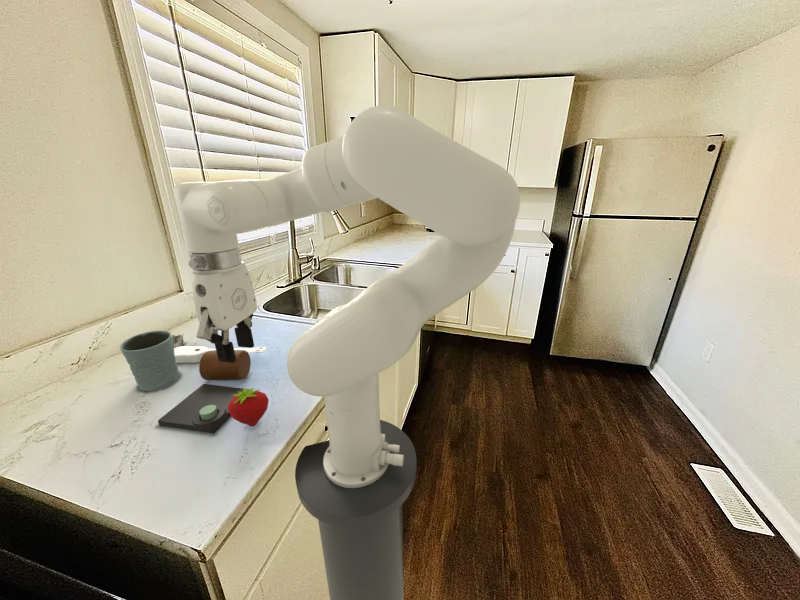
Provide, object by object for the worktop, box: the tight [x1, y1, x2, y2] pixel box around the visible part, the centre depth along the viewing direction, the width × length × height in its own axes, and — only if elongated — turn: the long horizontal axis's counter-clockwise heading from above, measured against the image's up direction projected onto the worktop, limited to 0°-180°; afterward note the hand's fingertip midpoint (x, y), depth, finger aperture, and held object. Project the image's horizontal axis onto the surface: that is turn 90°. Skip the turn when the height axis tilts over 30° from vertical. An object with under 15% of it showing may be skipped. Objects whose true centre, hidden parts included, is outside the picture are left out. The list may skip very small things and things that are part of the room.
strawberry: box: [228, 387, 269, 427], centre depth 66 cm, size 6×8×10 cm
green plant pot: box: [119, 330, 180, 392], centre depth 80 cm, size 10×10×12 cm
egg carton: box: [171, 333, 185, 348], centre depth 96 cm, size 11×8×4 cm
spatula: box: [174, 345, 267, 364], centre depth 92 cm, size 28×6×3 cm, turn 91°
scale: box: [157, 383, 251, 435], centre depth 72 cm, size 14×14×3 cm
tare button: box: [199, 405, 218, 420], centre depth 66 cm, size 3×3×2 cm
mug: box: [198, 350, 252, 382], centre depth 85 cm, size 12×8×9 cm
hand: (237, 352), depth 61 cm, fingers open, 4 cm apart
